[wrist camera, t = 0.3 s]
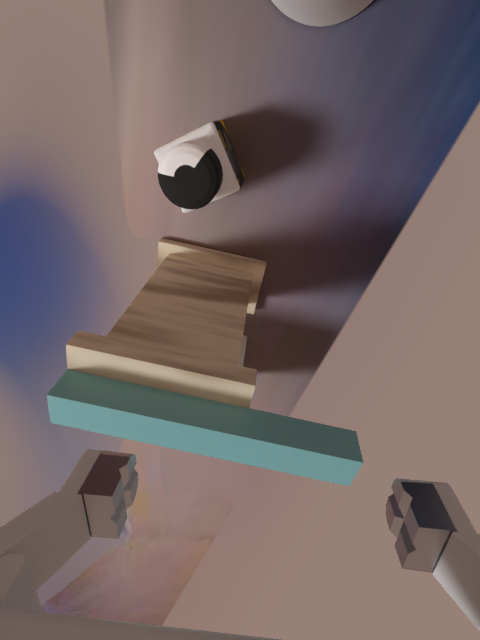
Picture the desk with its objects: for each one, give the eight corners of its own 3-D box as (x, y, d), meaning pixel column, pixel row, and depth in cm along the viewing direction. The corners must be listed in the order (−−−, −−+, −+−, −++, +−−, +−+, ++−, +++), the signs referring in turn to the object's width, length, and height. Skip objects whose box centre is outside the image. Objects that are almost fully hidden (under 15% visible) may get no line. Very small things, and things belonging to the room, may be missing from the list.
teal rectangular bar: (67, 369, 29) (46, 394, 26) (355, 431, 29) (363, 462, 26) (69, 395, 30) (50, 422, 28) (343, 454, 31) (349, 486, 28)
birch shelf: (161, 237, 49) (65, 344, 27) (266, 261, 50) (255, 385, 28) (157, 288, 54) (71, 415, 31) (254, 309, 54) (236, 451, 32)
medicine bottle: (246, 178, 44) (235, 200, 34) (196, 200, 46) (172, 227, 36) (222, 118, 41) (203, 122, 31) (169, 145, 43) (135, 156, 33)
